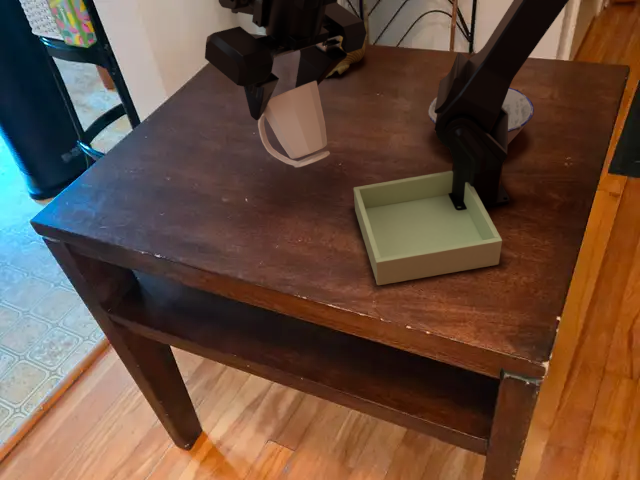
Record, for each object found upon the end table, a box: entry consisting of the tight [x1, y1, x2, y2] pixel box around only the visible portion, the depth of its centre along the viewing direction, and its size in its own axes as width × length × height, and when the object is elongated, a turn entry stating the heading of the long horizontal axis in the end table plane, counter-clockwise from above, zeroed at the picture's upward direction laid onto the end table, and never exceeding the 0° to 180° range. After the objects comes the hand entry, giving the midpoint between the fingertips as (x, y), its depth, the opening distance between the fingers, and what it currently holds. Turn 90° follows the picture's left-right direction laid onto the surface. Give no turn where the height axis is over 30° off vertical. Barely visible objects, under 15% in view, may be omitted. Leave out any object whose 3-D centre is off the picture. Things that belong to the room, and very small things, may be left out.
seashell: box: [324, 36, 367, 79], centre depth 97 cm, size 10×7×8 cm
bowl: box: [427, 87, 535, 145], centre depth 78 cm, size 13×13×5 cm
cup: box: [257, 81, 331, 168], centre depth 70 cm, size 7×10×8 cm
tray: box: [353, 170, 503, 286], centre depth 67 cm, size 13×13×3 cm
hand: (277, 109), depth 70 cm, fingers closed on cup, 6 cm apart
